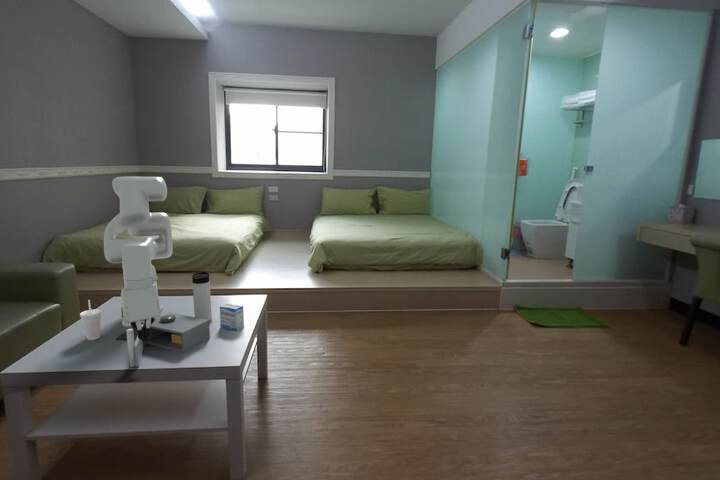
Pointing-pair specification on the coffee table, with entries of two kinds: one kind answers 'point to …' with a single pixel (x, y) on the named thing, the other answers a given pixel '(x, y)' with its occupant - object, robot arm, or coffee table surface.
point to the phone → (124, 335)
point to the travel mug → (202, 295)
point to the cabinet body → (178, 332)
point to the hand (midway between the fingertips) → (144, 339)
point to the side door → (134, 348)
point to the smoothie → (91, 322)
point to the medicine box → (231, 317)
